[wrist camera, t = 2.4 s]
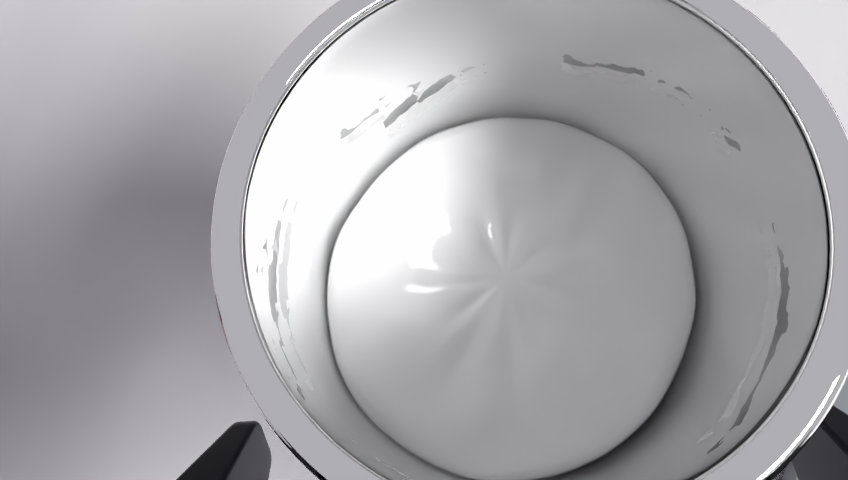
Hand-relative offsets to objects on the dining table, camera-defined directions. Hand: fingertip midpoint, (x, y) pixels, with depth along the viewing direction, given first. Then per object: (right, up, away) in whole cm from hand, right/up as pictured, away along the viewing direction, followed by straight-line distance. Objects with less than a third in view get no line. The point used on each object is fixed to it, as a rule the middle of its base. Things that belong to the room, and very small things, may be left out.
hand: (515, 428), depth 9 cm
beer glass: (+1, 0, +11) cm, 11 cm away
